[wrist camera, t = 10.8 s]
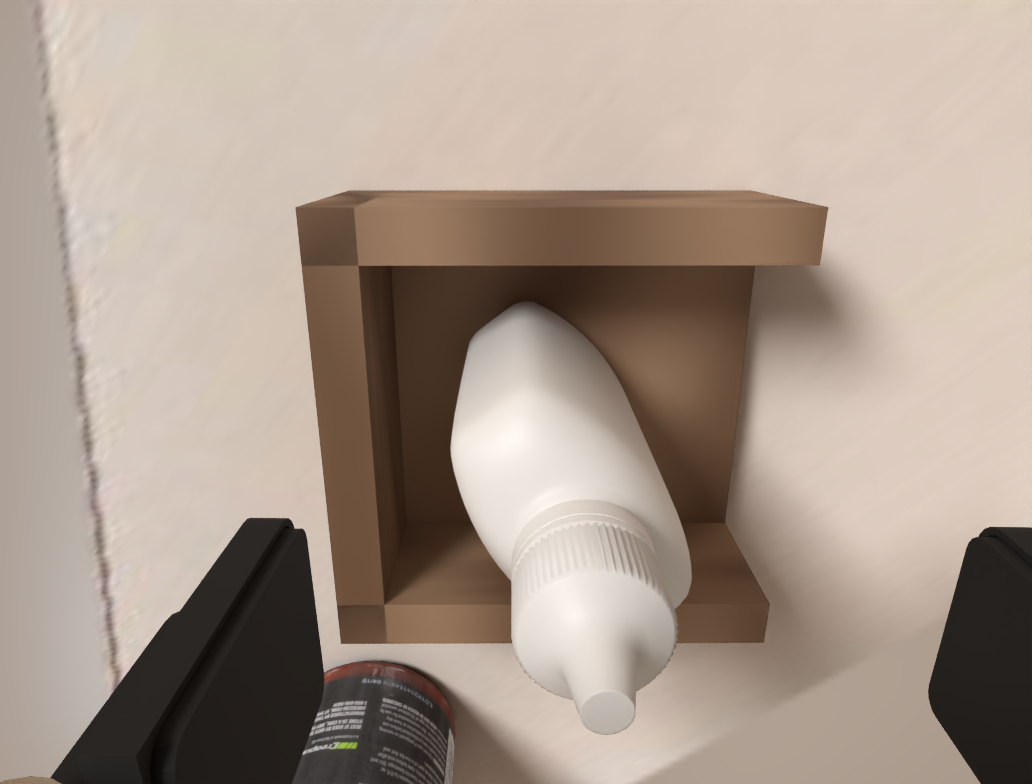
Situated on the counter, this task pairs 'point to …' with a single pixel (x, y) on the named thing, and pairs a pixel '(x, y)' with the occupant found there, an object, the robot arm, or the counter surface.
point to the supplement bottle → (379, 729)
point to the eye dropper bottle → (569, 512)
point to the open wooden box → (442, 354)
